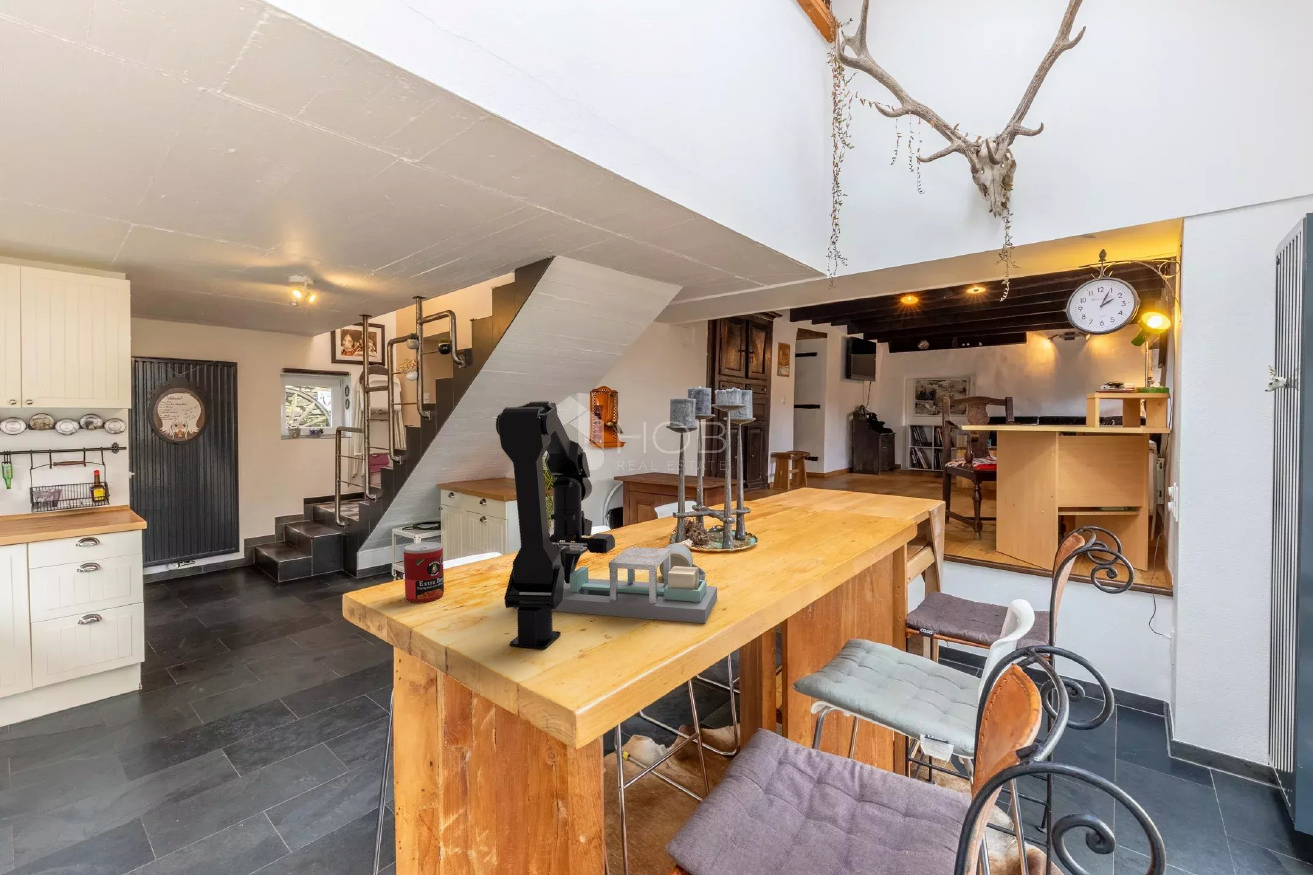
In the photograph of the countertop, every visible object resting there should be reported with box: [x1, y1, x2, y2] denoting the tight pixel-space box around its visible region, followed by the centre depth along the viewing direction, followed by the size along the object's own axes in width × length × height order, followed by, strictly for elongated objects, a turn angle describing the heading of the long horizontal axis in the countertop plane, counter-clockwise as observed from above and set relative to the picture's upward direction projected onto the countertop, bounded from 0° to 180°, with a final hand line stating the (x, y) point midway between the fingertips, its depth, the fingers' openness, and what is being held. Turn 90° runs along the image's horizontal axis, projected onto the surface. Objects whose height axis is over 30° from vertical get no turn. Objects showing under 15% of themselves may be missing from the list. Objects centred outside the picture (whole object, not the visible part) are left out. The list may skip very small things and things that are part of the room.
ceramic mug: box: [658, 542, 707, 580], centre depth 128 cm, size 11×8×8 cm
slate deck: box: [519, 578, 718, 624], centre depth 112 cm, size 14×38×2 cm, turn 75°
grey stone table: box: [608, 546, 671, 604], centre depth 111 cm, size 13×9×8 cm
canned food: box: [403, 541, 445, 603], centre depth 118 cm, size 8×8×11 cm
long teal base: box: [570, 566, 708, 602], centre depth 111 cm, size 7×26×4 cm, turn 75°
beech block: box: [668, 566, 699, 590], centre depth 109 cm, size 5×5×5 cm
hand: (568, 582), depth 115 cm, fingers closed
